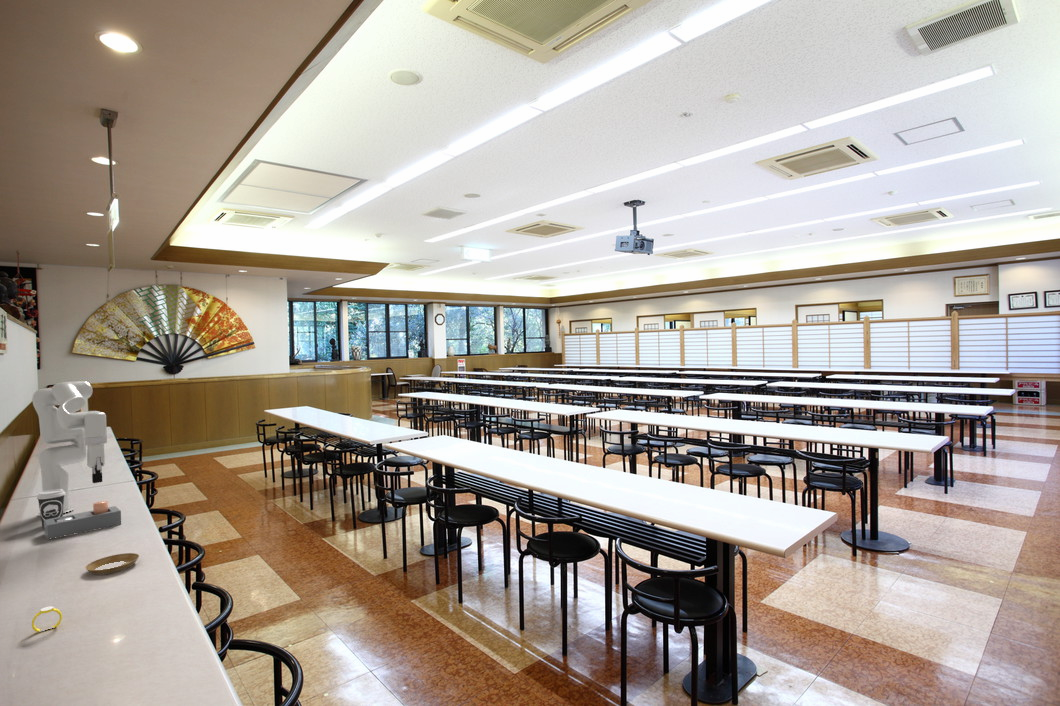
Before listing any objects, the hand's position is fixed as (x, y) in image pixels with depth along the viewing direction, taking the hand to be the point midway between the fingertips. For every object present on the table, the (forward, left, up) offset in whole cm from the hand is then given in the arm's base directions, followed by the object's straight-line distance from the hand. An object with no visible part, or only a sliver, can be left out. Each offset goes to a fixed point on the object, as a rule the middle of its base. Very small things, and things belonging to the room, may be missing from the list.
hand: (97, 482), depth 230 cm
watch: (+101, -27, -20) cm, 106 cm away
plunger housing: (0, -5, -19) cm, 20 cm away
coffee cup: (-19, -13, -19) cm, 30 cm away
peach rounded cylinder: (0, +1, -15) cm, 15 cm away
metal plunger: (0, -11, -19) cm, 22 cm away
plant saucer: (+63, -6, -20) cm, 66 cm away
